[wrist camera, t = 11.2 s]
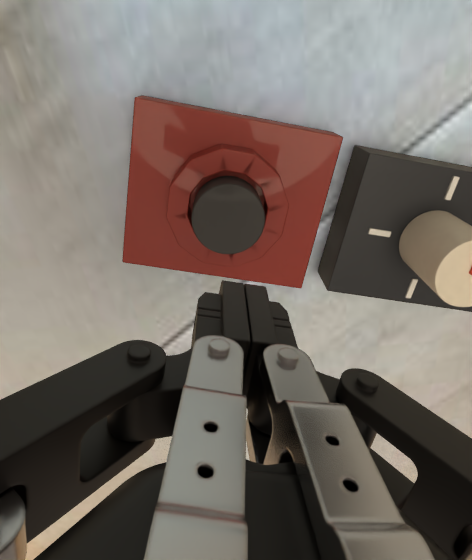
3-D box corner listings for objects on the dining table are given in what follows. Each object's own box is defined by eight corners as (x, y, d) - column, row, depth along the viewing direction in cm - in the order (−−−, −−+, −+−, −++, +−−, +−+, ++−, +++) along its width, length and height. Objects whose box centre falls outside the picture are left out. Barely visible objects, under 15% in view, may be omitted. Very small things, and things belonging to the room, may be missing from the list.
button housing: (128, 249, 30) (116, 274, 26) (140, 95, 25) (128, 99, 22) (295, 275, 31) (306, 301, 27) (334, 132, 27) (352, 141, 23)
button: (188, 236, 26) (186, 249, 24) (198, 169, 24) (197, 177, 22) (254, 246, 26) (257, 259, 24) (268, 181, 24) (272, 190, 23)
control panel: (317, 271, 31) (327, 291, 28) (354, 144, 27) (370, 153, 24) (457, 293, 32) (480, 314, 29) (511, 174, 29) (544, 186, 26)
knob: (448, 273, 28) (495, 314, 23) (390, 265, 28) (426, 305, 23) (471, 214, 26) (528, 246, 22) (410, 205, 26) (454, 235, 21)
